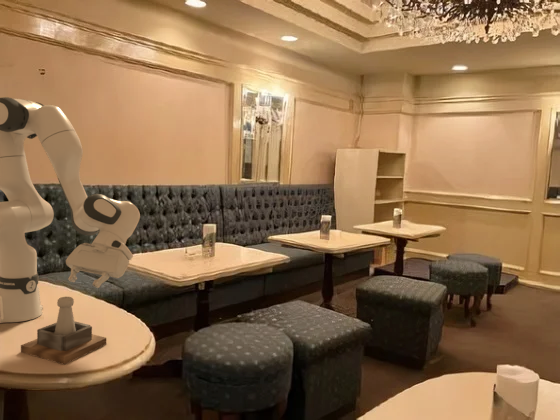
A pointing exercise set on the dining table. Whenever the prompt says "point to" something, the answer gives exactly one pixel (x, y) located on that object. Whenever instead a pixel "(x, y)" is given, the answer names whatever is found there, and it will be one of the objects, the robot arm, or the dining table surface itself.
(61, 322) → the beige round peg
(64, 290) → the dining table surface
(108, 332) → the dining table surface
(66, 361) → the walnut socket board
